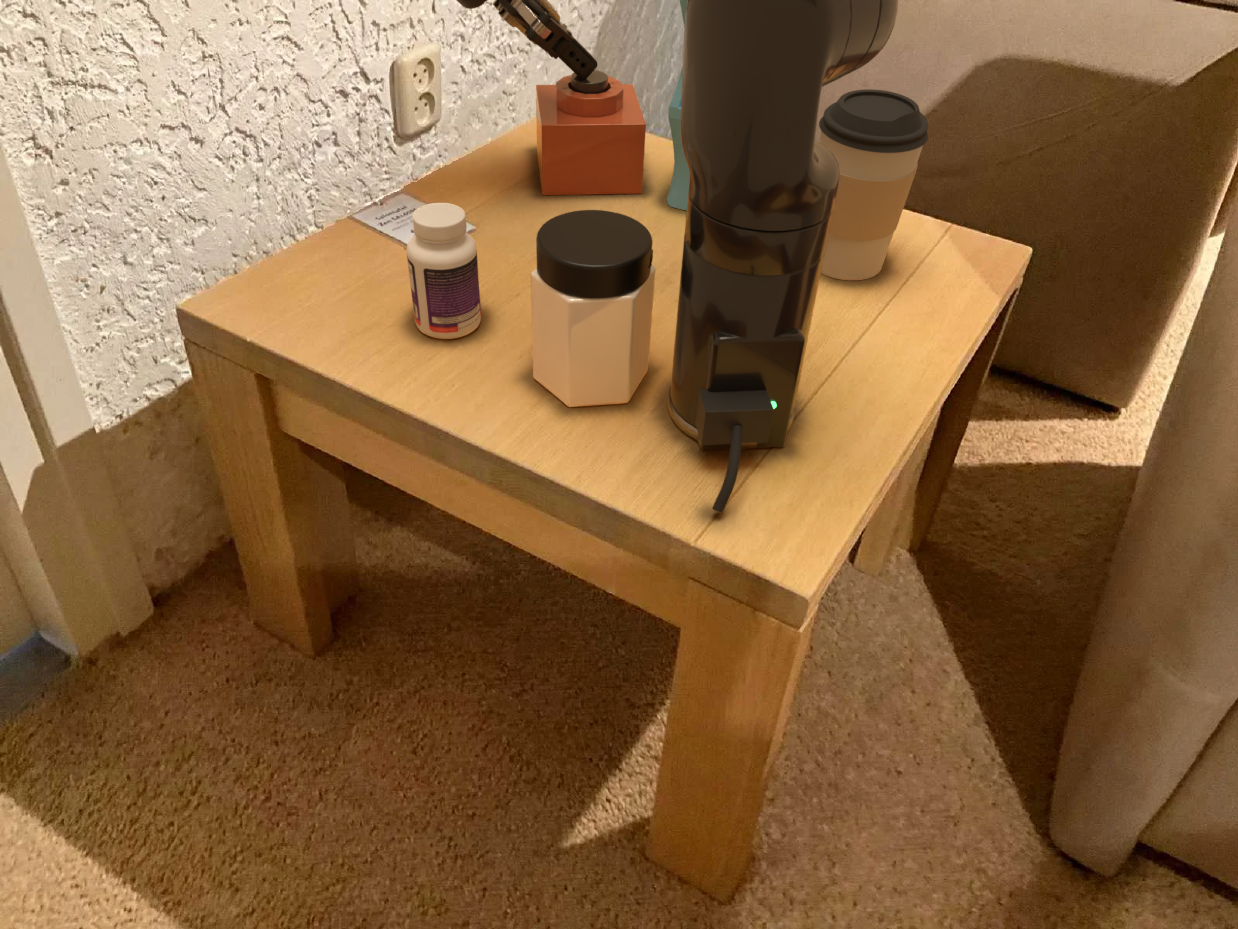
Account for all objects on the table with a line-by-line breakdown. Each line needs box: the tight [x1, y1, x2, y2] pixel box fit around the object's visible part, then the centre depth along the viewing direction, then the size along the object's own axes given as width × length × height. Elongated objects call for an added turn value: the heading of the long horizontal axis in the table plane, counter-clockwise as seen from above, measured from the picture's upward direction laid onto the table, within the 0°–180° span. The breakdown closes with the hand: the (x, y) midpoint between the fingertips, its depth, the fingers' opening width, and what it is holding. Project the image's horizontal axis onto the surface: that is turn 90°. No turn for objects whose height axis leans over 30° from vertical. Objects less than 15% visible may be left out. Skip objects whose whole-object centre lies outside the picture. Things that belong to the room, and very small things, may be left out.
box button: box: [570, 69, 609, 94], centre depth 98 cm, size 4×4×2 cm
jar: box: [530, 209, 656, 408], centre depth 73 cm, size 9×8×12 cm
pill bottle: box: [406, 202, 482, 340], centre depth 79 cm, size 5×5×10 cm
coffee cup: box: [818, 88, 929, 281], centre depth 87 cm, size 9×9×15 cm
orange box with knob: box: [535, 74, 647, 196], centre depth 100 cm, size 10×10×9 cm
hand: (589, 69), depth 96 cm, fingers closed
